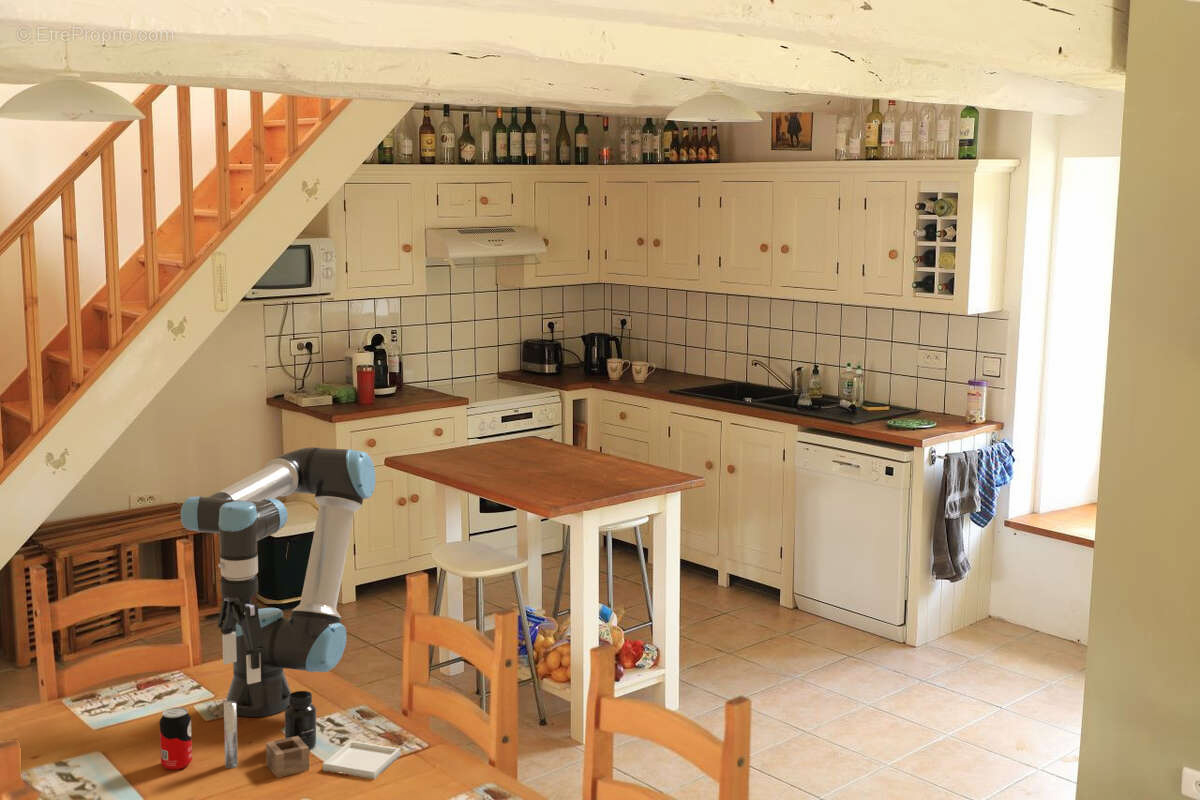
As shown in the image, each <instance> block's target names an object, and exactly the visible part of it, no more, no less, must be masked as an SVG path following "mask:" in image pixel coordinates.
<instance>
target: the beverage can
mask: <svg viewBox="0 0 1200 800" xmlns="http://www.w3.org/2000/svg"><path fill="white" fill-rule="evenodd" d="M159 741H160V743H159V747H160V749H159V750H160V764H161V766H162V767H163V768H165V769H167V770H169V771H177V770H182V769H185V768H186V767H188V766H189V764H190V763H191V762H192V760H193V748H192V747H193V745H192V743H193V742H192V719H191V715H190V714H189V713H188V709H187V708H186V707H182V706H181V707H180V706H178V707H177V706H176V707H170V708H167V709H165V710H163V711H162V715H161V717H160V719H159Z"/></svg>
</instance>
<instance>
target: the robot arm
mask: <svg viewBox="0 0 1200 800" xmlns="http://www.w3.org/2000/svg"><path fill="white" fill-rule="evenodd" d="M375 487H376V470H375V465H374V462H373V460H372V457H371V456H370V455H369V454H368V453H367V452H364V451H361V450H354V449H350V448H349V449H343V448H326V447H313V446H312V447H303V448H299V449H295V450H293V451H290V452H286V453H283V454H281V455H279V456H277V457H275V458H272V459H271V460H269V461H268V462H267V463H265V465H264V466H263V468H262V469H261V470H259V471H257V472H254V473H253V474H251V475H249V476H247V477H245V478H243V479H241V480H239V481H237V482H235V483H233V484H231V485H229V486H227V487H225V488H223V489H221V490H220V491H218V492H215V493H214V494H210V495H209V496H206V497H204V496H201V495H199V496H190V497H188V498H187V499H185V500H184V502H183V503H182V506H181V509H180V522H181V524H182V526H183V527H184V528H185V529H186V530H187V531H194V532H198V533H212V534H213V533H214V534H219V549H220V550H219V551H220V553H219V557H220V558H219V559H220V563H218V568H219V569H220V575H221V576H222V577H221V578H220V594H221V596H222V598H221V600H222V601H221V606H220V611H219V615H218V622H217V627H218V629H220V632H221V634H222V638H221V639H222V664H223V665H228V664H233V665H232V666H233V669H232V670H233V677H232V681H231V684H230V686H229V689H228V692H227V695H226V702H227V701H235V702H236V704H237V717H244V718H256V717H257V718H258V717H259V718H260V717H267V716H271V715H272V716H273V715H275V714H276V715H277V714H279V713H282V712H283V711H284V712H285V710H286V708H287V707H288V706H289V705H290V704H289V700H290V694H291V693H292V691H291V689H290V686H289V683H288V679H287V678H286V675H285V671H284V669H287V670H295V671H296V670H297V671H305V672H306V671H307V672H309V673H315V672H316V673H317V672H319V673H327V672H329V671H331V670H332V669H335V667H336V666H337V665H338V664H339V662H340V660H341V659H342V657H343V654H344V652H345V648H346V646H347V629H346V627H345V626H344V625H343V624H342V623H341V620H342V616H341V615H340V613H339V611H338V610H337V606H338V602H339V594H340V590H341V586H342V580H343V573H344V569H345V564H346V558H347V552H348V547H349V542H350V537H351V532H352V526H353V522H354V517H355V516H354V515H355V513H356V512H357V511H358V510H360V509H362V507H363V502H364V500H367V499H370V498H371V497H372V496H373V493H374V492H375ZM292 494H309V495H314V501H315V503H317V505H318V512H317V516H316V522H315V526H314V531H313V538H312V543H311V548H310V552H309V557H308V562H307V567H306V571H305V577H304V582H303V588H302V592H301V598H300V603H299V604H298V605H297V606H296V607H294V608H293V609H292V610H291V615H290V618H287V617H284V613H283V610H282V609H280V608H276V607H265V608H263V607H262V608H259V606H258V604H253V603H252V599H251V598H252V596H255V595H257V594H258V592H259V576H258V575H257V574H258V573H259V556H258V555H259V554H258V541H259V542H260V541H261V540H262V539H264V538H267V537H269V536H272V535H275V534H276V533H277V532H279V531H280V530H282V529H284V527H285V526H286V524H287V522H288V516H289V515H288V510H287V508H286V506H285V504H284V503H283V502H282V501H280V500H279V499H277V498H278V497H287V496H289V495H292Z"/></svg>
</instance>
